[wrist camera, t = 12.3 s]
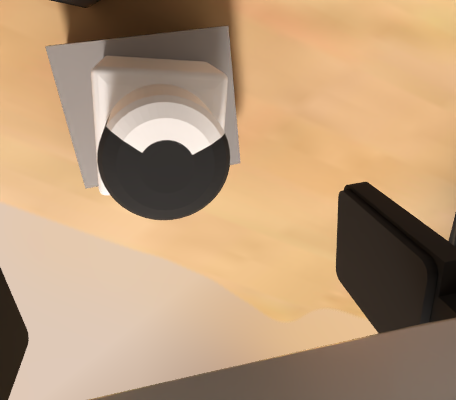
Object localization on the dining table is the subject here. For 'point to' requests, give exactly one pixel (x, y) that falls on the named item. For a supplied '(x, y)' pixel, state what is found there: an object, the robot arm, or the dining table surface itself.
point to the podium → (143, 48)
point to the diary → (453, 233)
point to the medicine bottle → (160, 134)
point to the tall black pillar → (78, 2)
